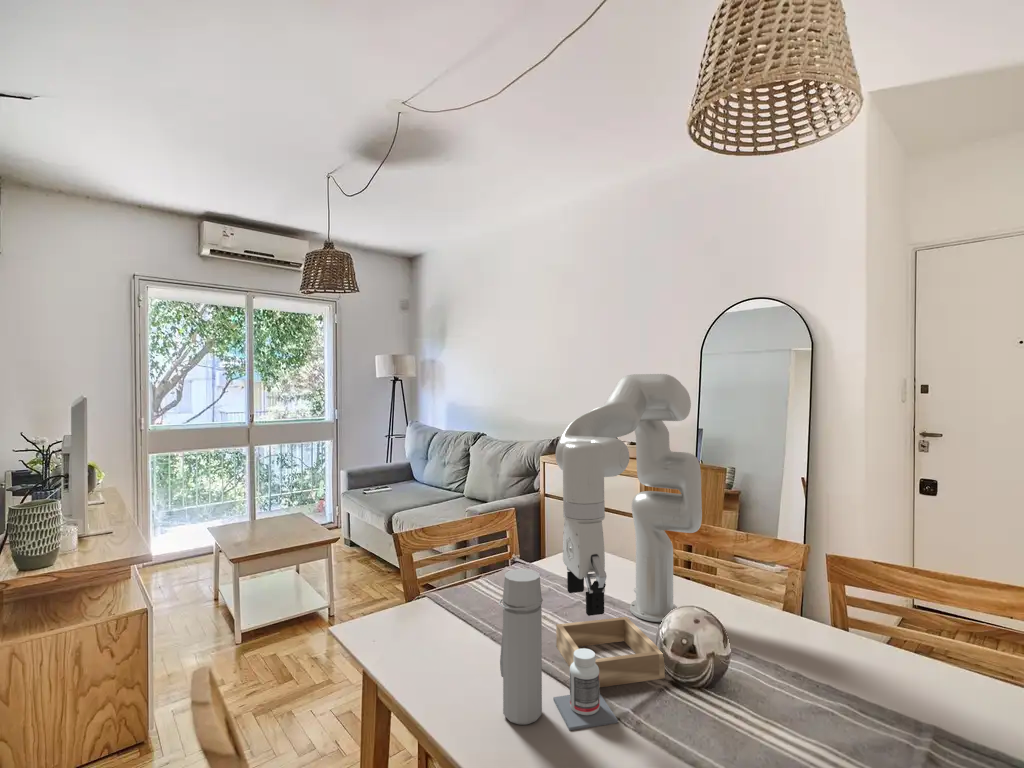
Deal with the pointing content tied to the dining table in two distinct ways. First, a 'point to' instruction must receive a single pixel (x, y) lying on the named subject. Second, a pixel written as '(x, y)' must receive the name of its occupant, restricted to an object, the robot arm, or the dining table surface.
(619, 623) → the oak crate
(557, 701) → the rubber mat
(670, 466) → the robot arm
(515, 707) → the water bottle
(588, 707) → the pill bottle
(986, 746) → the dining table surface
